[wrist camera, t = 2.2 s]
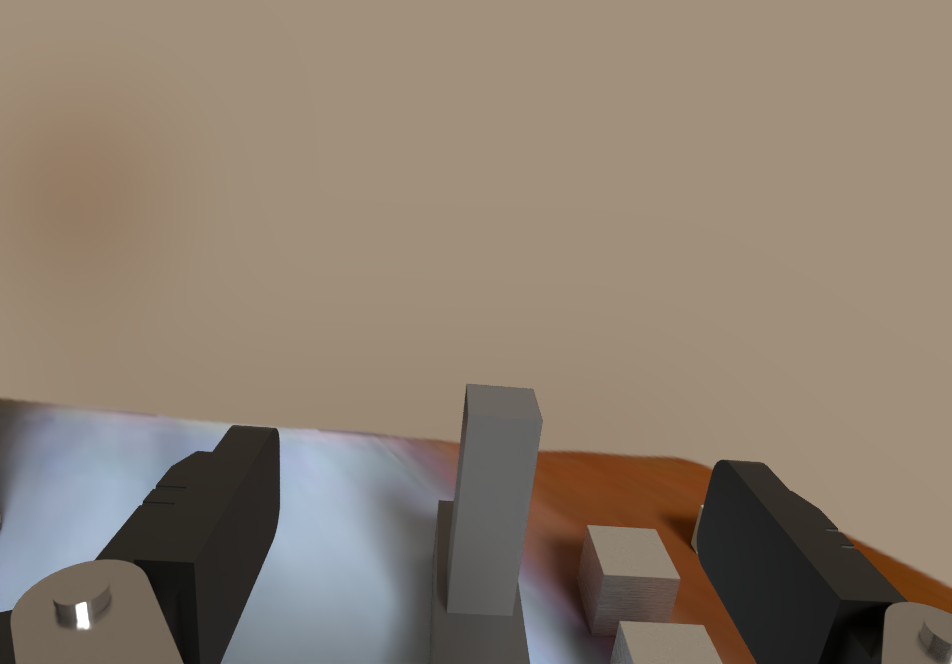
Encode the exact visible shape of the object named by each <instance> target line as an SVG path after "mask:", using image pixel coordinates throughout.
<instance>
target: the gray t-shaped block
mask: <svg viewBox="0 0 952 664" xmlns="http://www.w3.org/2000/svg"><path fill="white" fill-rule="evenodd" d="M542 422H543V420H542V416H541V413H540V410H539V407H538V403H537V400H536V397H535V393H534V390H533V389H527V388H514V387H502V386H489V385H476V384H467V385H466V394H465V403H464V412H463V421H462V431H461V440H460V449H459V459H458V468H457V477H456V487H455V496H454V501H441V500H439V504H438V514H437V524H436V534H435V545H434V555H433V581H432V608H431V635H430V661H429V664H530V660H529V653H528V646H527V639H526V633H525V626H524V619H523V612H522V605H521V598H520V592H519V585H518V576H519V570H520V563H521V557H522V551H523V544H524V538H525V531H526V525H527V518H528V512H529V506H530V499H531V493H532V486H533V480H534V473H535V467H536V461H537V454H538V448H539V441H540V435H541V428H542Z"/></svg>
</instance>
